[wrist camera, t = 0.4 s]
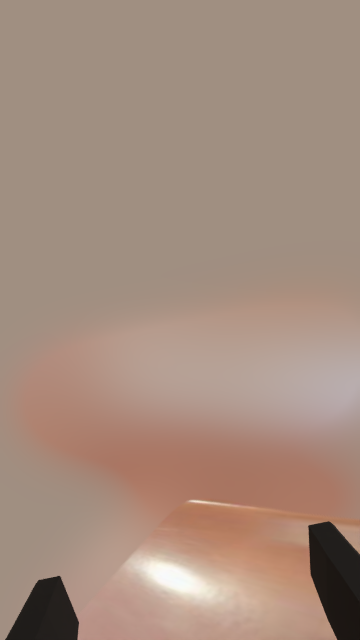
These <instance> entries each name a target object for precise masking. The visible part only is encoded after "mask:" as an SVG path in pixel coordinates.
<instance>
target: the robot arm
mask: <svg viewBox="0 0 360 640" xmlns="http://www.w3.org/2000/svg"><path fill="white" fill-rule="evenodd" d="M308 527H309V548H310V570H311V576H312V579H313V582H314V584H315V587H316V590H317V592H318V595H319V598H320V600H321V603H322V606H323V608H324V611H325V613H326V616H327V618H328V621H329V623H330V625H331V627H332V629H333V631H334V633H335V636H336V638H337V640H360V554H359V553H358V552H357V551H356V550H355V549H354V548H353V547H352V545H351V544H350V543H349V542H348V541H347V540H346V539H345V537H344V536H343V535H342V534H341V533H340V532H339V531H338V529H337V528H336V527H335V526H334V525H333V524H332V523H331V522H329V521H328V522H323V523H319V524H314V525H309V526H308ZM78 626H79V622H78V619H77V617H76V614H75V612H74V609H73V607H72V604H71V602H70V600H69V597H68V594H67V592H66V590H65V587H64V585H63V582H62V580H61V577H60V576H57V577H53V578H47V579H43V580H38V582H37V583H36V585H35V586H34V588H33V590H32V592H31V594H30V596H29V597H28V599H27V601H26V603H25V605H24V607H23V609H22V610H21V612H20V614H19V616H18V618H17V620H16V621H15V624H14V625H13V627H12V629H11V630H10V633H9V634H8V636H7V638H6V639H5V640H77V638H78Z"/></svg>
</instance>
